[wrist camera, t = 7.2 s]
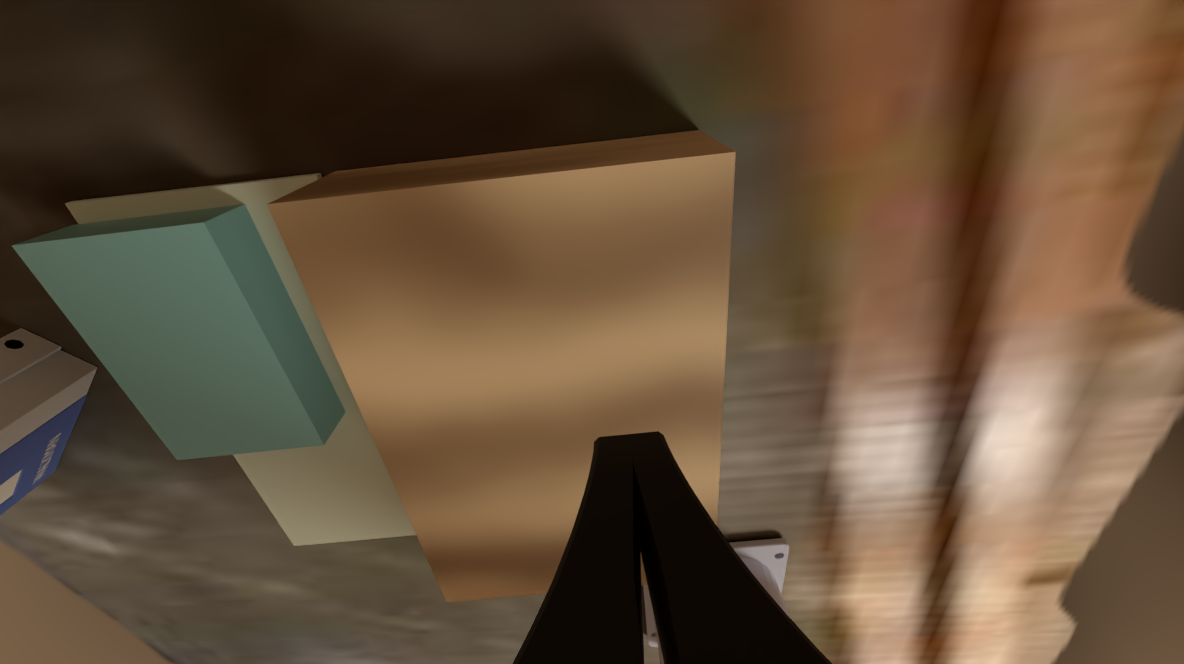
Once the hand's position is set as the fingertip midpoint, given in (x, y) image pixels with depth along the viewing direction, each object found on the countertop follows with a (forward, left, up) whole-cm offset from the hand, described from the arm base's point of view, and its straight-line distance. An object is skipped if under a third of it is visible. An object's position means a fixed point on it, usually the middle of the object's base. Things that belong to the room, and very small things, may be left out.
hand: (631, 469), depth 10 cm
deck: (-4, +3, -9) cm, 10 cm away
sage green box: (0, +15, -7) cm, 16 cm away
